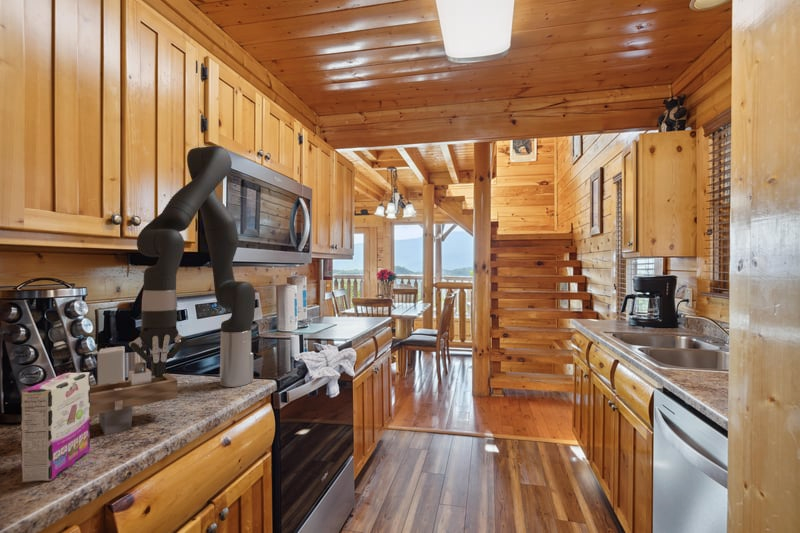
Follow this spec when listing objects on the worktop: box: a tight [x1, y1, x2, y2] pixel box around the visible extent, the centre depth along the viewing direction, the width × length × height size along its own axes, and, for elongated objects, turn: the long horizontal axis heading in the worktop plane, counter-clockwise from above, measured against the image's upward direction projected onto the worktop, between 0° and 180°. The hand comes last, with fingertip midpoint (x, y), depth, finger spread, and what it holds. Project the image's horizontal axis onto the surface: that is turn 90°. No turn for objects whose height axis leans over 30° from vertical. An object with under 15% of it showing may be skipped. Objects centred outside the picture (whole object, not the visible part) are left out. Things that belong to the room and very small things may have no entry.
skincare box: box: [96, 346, 126, 385], centre depth 107 cm, size 8×6×15 cm
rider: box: [127, 361, 152, 387], centre depth 94 cm, size 4×4×7 cm
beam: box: [89, 373, 178, 436], centre depth 91 cm, size 24×9×10 cm, turn 135°
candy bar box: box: [20, 371, 91, 484], centre depth 73 cm, size 11×5×16 cm, turn 9°
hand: (158, 376), depth 97 cm, fingers closed
